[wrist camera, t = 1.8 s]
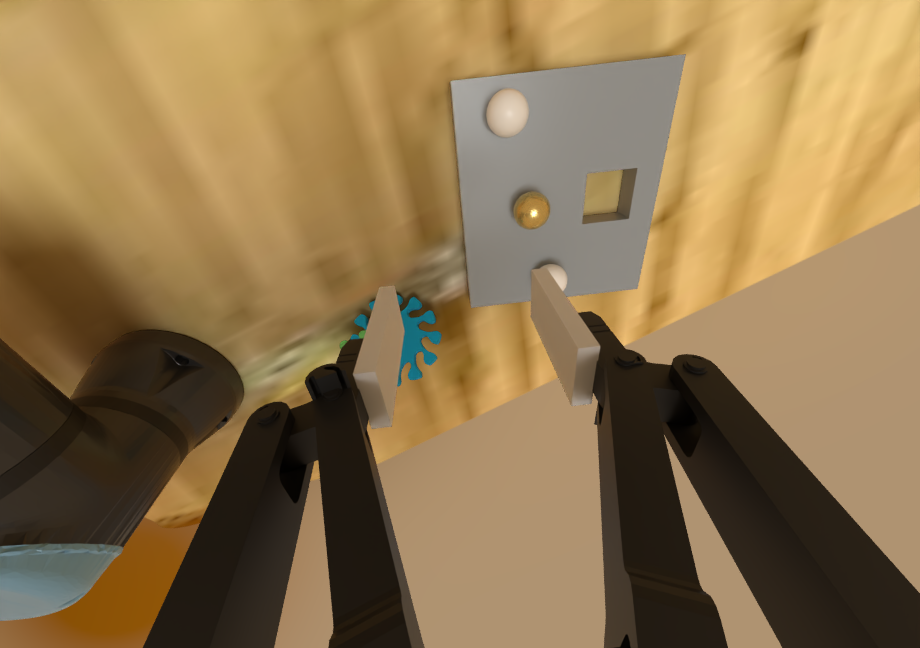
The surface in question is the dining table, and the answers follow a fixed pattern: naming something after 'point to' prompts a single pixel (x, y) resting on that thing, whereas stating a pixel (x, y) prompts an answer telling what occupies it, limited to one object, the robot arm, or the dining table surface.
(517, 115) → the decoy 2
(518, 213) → the ball
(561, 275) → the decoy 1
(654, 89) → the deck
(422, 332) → the gear
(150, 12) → the dining table surface
